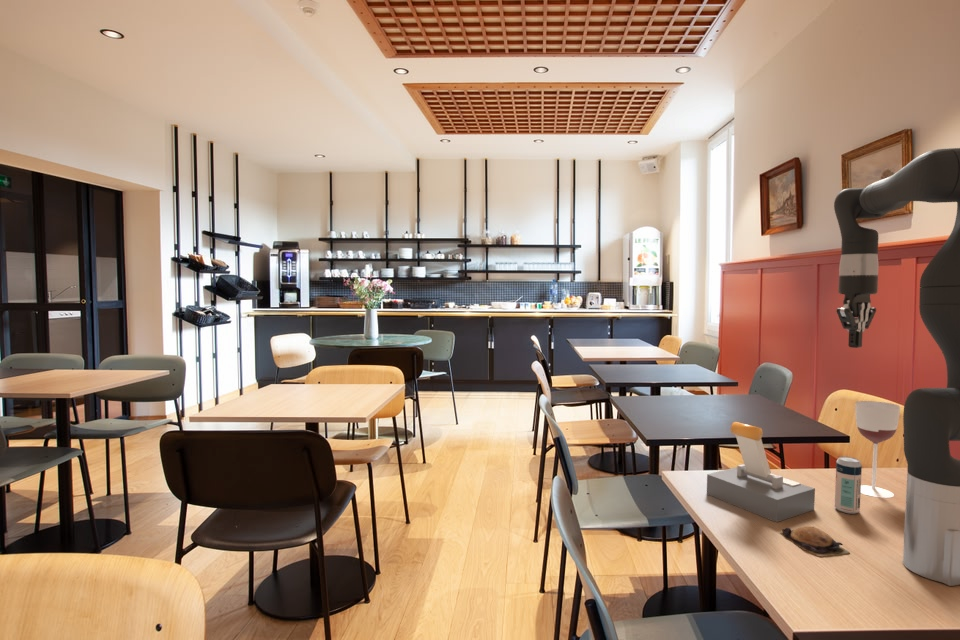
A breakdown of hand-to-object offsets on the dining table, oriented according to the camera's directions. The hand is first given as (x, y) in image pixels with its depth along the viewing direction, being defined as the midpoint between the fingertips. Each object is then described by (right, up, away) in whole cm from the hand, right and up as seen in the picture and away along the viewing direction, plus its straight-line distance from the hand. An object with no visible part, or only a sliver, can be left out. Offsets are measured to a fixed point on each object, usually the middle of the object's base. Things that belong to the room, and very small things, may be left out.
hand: (855, 347), depth 126 cm
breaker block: (-22, -37, +1) cm, 43 cm away
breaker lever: (-22, -31, +1) cm, 38 cm away
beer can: (-5, -38, -4) cm, 38 cm away
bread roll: (-22, -39, -19) cm, 49 cm away
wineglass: (+10, -37, +8) cm, 39 cm away
